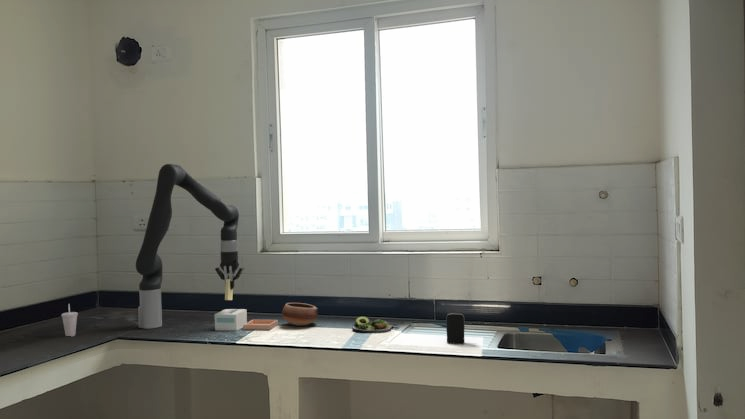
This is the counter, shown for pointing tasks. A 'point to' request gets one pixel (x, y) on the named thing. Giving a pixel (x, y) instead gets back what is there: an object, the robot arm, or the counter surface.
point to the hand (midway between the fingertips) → (230, 289)
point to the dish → (260, 325)
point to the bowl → (299, 313)
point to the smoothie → (69, 322)
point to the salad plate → (371, 325)
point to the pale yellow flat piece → (228, 291)
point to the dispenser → (230, 319)
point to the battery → (455, 328)
